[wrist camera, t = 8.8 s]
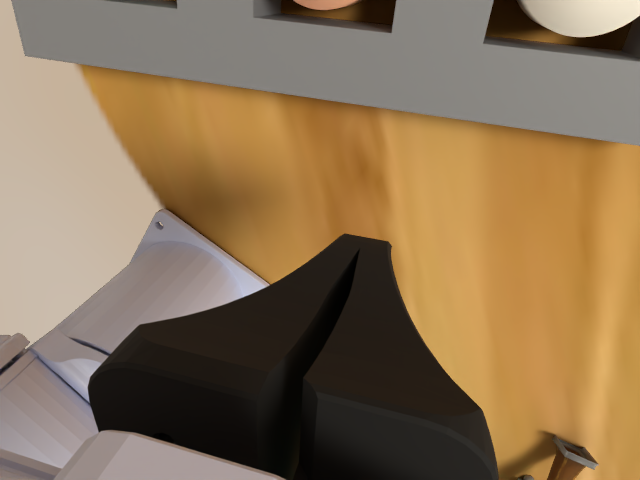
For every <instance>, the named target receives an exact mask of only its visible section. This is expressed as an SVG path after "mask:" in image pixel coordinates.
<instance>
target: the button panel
mask: <svg viewBox="0 0 640 480" xmlns="http://www.w3.org/2000/svg"><path fill="white" fill-rule="evenodd" d="M11 1H12V5H13V9H14V13H15V17H16V21H17V25H18V29H19V33H20V37H21V41H22V45H23V49H24V54H25V56H29V57H36V58H43V59H49V60H56V61H63V62H70V63H77V64H84V65H91V66H97V67H104V68H111V69H118V70H125V71H132V72H138V73H145V74H152V75H159V76H166V77H173V78H180V79H186V80H193V81H200V82H207V83H214V84H221V85H228V86H234V87H241V88H248V89H255V90H262V91H269V92H275V93H282V94H289V95H296V96H303V97H310V98H317V99H323V100H330V101H337V102H344V103H351V104H358V105H364V106H371V107H378V108H385V109H392V110H399V111H406V112H412V113H419V114H426V115H433V116H440V117H447V118H454V119H460V120H467V121H474V122H481V123H488V124H495V125H501V126H508V127H515V128H522V129H529V130H536V131H543V132H549V133H556V134H563V135H570V136H577V137H584V138H590V139H597V140H604V141H611V142H618V143H625V144H632V145H638V146H640V16H638V17H637V18H636V19H634V20H633V23H632V25H631V28H630V30H629V33H628V35H627V38H626V40H625V43H624V46H623V48H622V51H618V50H609V49H600V48H591V47H582V46H573V45H564V44H555V43H546V42H537V41H528V40H519V39H510V38H501V37H492V36H485V33H486V29H487V25H488V21H489V17H490V13H491V9H492V5H493V1H494V0H396V6H395V13H394V20H393V25H384V24H375V23H366V22H357V21H348V20H339V19H330V18H321V17H312V16H303V15H294V14H285V13H281V0H177V1H168V0H11Z"/></svg>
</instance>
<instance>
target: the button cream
mask: <svg viewBox="0 0 640 480" xmlns="http://www.w3.org/2000/svg"><path fill="white" fill-rule="evenodd" d="M517 2H518V4H519V6H520V8H521V9H522V10H523V12H524V13H525V14H526V15H527V16H528V17H529V18H530V19H531V20H533V21H534V22H536V23H538V24H540V25H541V26H544V27H546V28H548V29H550V30H552V31H554V32H556V33H559V34H562V35H566V36H571V37H591V36H597V35H601V34H605V33H608V32H611V31H614V30H616V29H618V28H620V27H622V26H624V25H626V24H628V23H629V22H631V21H633V20H634V19H636V18H637V17H638V16H640V0H517Z"/></svg>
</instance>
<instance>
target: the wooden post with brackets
mask: <svg viewBox="0 0 640 480" xmlns="http://www.w3.org/2000/svg"><path fill="white" fill-rule="evenodd" d="M552 440H553V441H554V443H555V444H556V445H557V451H556V456H555V459H554V461H553V464H552V467H551V470H550V473H549V476H548V478H547V480H574V479H575V478H576V477H577V475H578V474H579V473H580V472H581V471H582V470H583V469H584V468H585V467H586V466H587V467H589V468H592V469H594V470H595V467H596V466H597V465H599V464H598V463H597V462H596V461H595V459H594V458H593V457H592V456H591V455H590V453H589V452H588V451H587V450H586V448H585V447H584V448H582V449H581V448H578V447H576V446H574V445H571V444H569V443H567V442H564V441H562V440H560V439H558V438H557V436H556V435H555V436H554V437H553V439H552ZM517 480H534V478H533V477H532V476H530V475H526V476H524V478H523V479H520V478H518V479H517Z"/></svg>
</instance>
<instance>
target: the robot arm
mask: <svg viewBox="0 0 640 480" xmlns="http://www.w3.org/2000/svg"><path fill="white" fill-rule="evenodd" d="M159 222H161V223H162V224H163V226H161V225H160V223H159ZM391 248H392V246H391V244H390V243H389V242H388V241H382V240H377V239H372V238H366V237H361V236H355V235H350V234H343V235H342V236H340V237H339V238H338V239H336V240H335V241H334V242H333V243H331V244H330V245H329V246H328V247H327V248H325V249H324V250H323V251H321V252H320V253H319V254H318V255H316V256H315V257H314V258H312V259H311V260H309V261H308V262H307V263H305V264H304V265H303V266H301V267H300V268H298V269H296V270H295V271H293V272H292V273H290V274H289V275H287V276H285V277H284V278H282V279H281V280H279V281H277V282H275V283H273V284H271V285H270V284H268V283H267V282H266V281H264V280H263V279H261V278H260V277H259V276H257V275H256V274H255V273H253V272H252V271H250V270H249V269H248V268H246V267H245V266H244V265H242V264H241V263H240V262H238V261H237V260H235V259H234V258H233V257H231V256H230V255H229V254H227V253H226V252H224V251H223V250H222V249H220V248H219V247H218V246H216V245H215V244H214V243H212V242H211V241H209V240H208V239H207V238H205V237H204V236H203V235H201V234H200V233H199V232H197V231H196V230H194V229H193V228H192V227H190V226H189V225H188V224H186V223H185V222H183V221H182V220H181V219H179V218H178V217H177V216H175V215H174V214H173V213H171V212H170V211H168V210H166V209H161V210H159V211H158V212H157V213H156V214H155V216H154V218H153V220H152V221H151V223H150V225H149V227H148V229H147V231H146V233H145V235H144V237H143V239H142V241H141V243H140V245H139V246H138V248H137V250H136V252H135V254H134V256H133V258H132V260H131V262H130V264H129V265H128V266H127V267H125V268H124V269H123V270H122V271H121V272H120V273H119V274H117V275H116V276H115V277H114V278H113V279H111V280H110V281H109V282H108V283H107V284H106V285H104V286H103V287H102V288H101V289H100V290H98V291H97V292H96V293H95V294H94V295H93V296H91V297H90V298H89V299H88V300H87V301H86V302H84V303H83V304H82V305H81V306H80V307H79V308H77V309H76V310H75V311H74V312H73V313H72V314H70V315H69V316H68V317H67V318H66V319H64V320H63V321H62V322H61V323H60V324H59V325H58V326H56V327H55V328H54V329H53V330H51V331H50V332H49V333H47V334H46V335H45V336H43V337H42V338H40V339H39V340H38V341H37V342H35V343H34V344H32V345H31V346H30V347H28V348H27V349H25V347H26V346H27V345H28V344H29V343H30V342H29V341H28V340H27V339H26V338H25V336H23V335H22V334H20V333H17V334H15V335H13V336H12V337H11V336H10V335H0V480H499V477H498V468H497V461H496V457H495V452H494V448H493V444H492V440H491V436H490V432H489V429H488V426H487V423H486V419H485V416H484V413H483V411H482V409H481V408H480V407H479V406H478V405H477V404H476V403H475V402H474V401H473V400H472V399H471V398H470V397H469V396H468V395H467V394H466V393H465V392H464V391H463V390H462V389H461V388H460V387H459V386H458V385H457V384H456V383H455V382H454V381H453V380H452V379H451V378H450V376H449V375H448V374H447V373H446V372H445V370H444V369H443V368H442V367H441V365H440V364H439V363H438V361H437V360H436V358H435V357H434V356H433V354H432V353H431V351H430V350H429V349H428V347H427V346H426V344H425V343H424V341H423V339H422V338H421V336H420V334H419V333H418V331H417V329H416V327H415V325H414V324H413V322H412V320H411V318H410V316H409V314H408V311H407V309H406V307H405V304H404V302H403V299H402V297H401V294H400V291H399V288H398V285H397V282H396V278H395V275H394V271H393V266H392V260H391Z"/></svg>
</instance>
